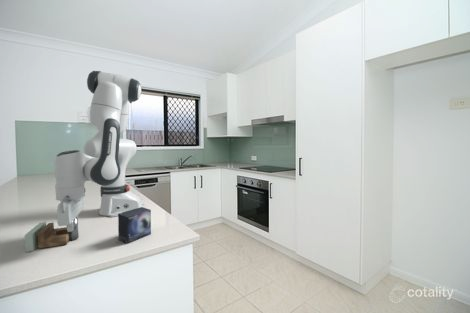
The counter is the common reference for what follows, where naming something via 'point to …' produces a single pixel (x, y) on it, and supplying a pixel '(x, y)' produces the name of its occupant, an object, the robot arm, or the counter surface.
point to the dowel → (74, 233)
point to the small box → (134, 224)
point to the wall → (33, 237)
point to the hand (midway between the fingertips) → (72, 228)
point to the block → (52, 236)
